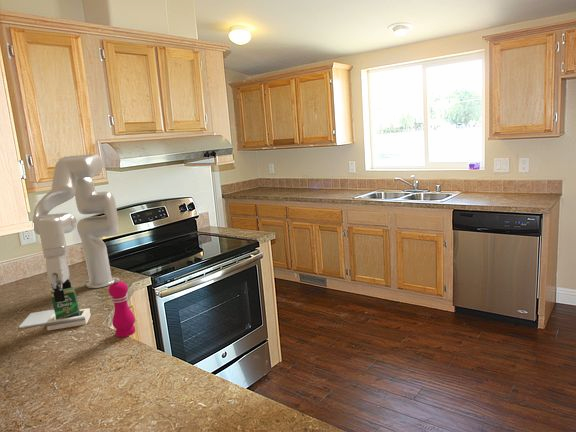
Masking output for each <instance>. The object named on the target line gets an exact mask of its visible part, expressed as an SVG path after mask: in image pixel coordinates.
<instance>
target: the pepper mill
mask: <svg viewBox="0 0 576 432" xmlns="http://www.w3.org/2000/svg"><path fill="white" fill-rule="evenodd" d="M128 291H129V287H128V285H127V283H125V282H124V281H120V278H118V277H115V279H114V283H113V284H111V285H109V287H108V293H109V295H110V296H111V302H112V303H113V304H114V312H113V317H112V327H113V328H115V336H117V338H126V337H130V336H132V335H134V333H136V326H135V325H134V324H135V323H136V317H135V315H134V313H133V312H132V310H131V309H130V306H129V305H128V299H129V297H128Z"/></svg>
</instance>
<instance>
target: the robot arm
mask: <svg viewBox="0 0 576 432" xmlns="http://www.w3.org/2000/svg"><path fill="white" fill-rule="evenodd" d="M103 164H104V163H103V160H102V158H101V156H100V155H99V154H97V153H92V154H89V153H88V154H80V155H79V154H76V155H68V156H64V157H61V158H59V159H58V161H57V162H56V163H55V165H54V171H53V177H52V183H51V189H50V191H48V192H47V193H46V194H45V195H44V196H42V198H41V199H40V200H39V201H38V202H37V204H36V205H35V208H34V211H33V212H34V213H33V216H32V218H33V219H32V224H33V223H34V229H33V231H34V233H35V234H37V235H39V238H40V239H39V240H40V243H41V248H42V254H43V258H44V259H45V266H46V275H47V281H48V285H49V286H51V288H52V291H53V294H54V299H55V302H62V301H65V296H64V291H63V290H62V289H67V288H71V287H72V283H71V278H70V269H69V264H68V259H67V256H66V255H68V248H67V243H66V242H67V241H66V237H65V234H69V233H71V232H73V231H74V230H77V232H78V235H79V238H80V240H81V241H80V242H81V244H82V249H83V253H84V254H83V255H84V260H85V264H86V270H87V274H88V275H87V276H88V280H89V281H88V282H87V283H86V288H88V289H99V288H104V287H108V286H110V285H111V284H113V283H115V282H114V279H115V278H116V277H114V276H112V272H111V265H110V260H109V255H108V248H107V245H106V243H105V242H104V241H103V240H102V237H103V238H104V237H105V238H106V237H113V236H116V235H118V234H119V232H120V222H119V215H118V209H117V205H116V200H115V199H116V198H115V196H114V194H112V193H111V192H110V191H96V189H95V182H94V180H93V177H94V178H95V177H96V176H97V175H99V174H101V172H102V171H103V169H104V165H103ZM74 197H75V203H76V204H75V205H76V208H77V211H78V212H79V214H80V215H95V216H87V217H84V218H81V219H79V221H77V218H76V216H75V215H74V214H72V213H71V212H59V213H50V212H51V211H52V210H53V209H55V208H56V207H58V206H60V205H62V204H64V203H66V202H68V201H69V200H71V199H73V198H74ZM49 213H50V214H49ZM96 214H104V215H100V216H99V215H98V216H96ZM75 228H76V229H75Z"/></svg>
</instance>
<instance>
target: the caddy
mask: <svg viewBox="0 0 576 432" xmlns="http://www.w3.org/2000/svg"><path fill="white" fill-rule="evenodd" d="M79 310H80V315H81V316H76V317H70V318H64V319H58V320H56V315H55V314H52V315H51V317H50V318H49V320H48V321H47V322H46V324H44V325H45V327H46V329H47V331H48V332H49V331H53V330H54V331H55V330H59V329H60V330H61V329H64V328H71V327H77V326H83V325H87V323H88V321H89V320H90V317H91V316H92V315H91V311H90V310H91V309H90V308H81V309H80V308H79Z"/></svg>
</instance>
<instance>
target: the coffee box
mask: <svg viewBox="0 0 576 432" xmlns="http://www.w3.org/2000/svg"><path fill="white" fill-rule="evenodd" d="M62 290H63V291H64V296H65V301H62V302H55V299H54V294H53V290H52V291H51V292H50V299H51V302H52V307H53V310H54V311H55V315H56V320H58V319H64V318H70V317H76V316H81V315H80V307H79V302H78V298H77V294H76V287H75V286H71V288H67V289H62Z"/></svg>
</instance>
